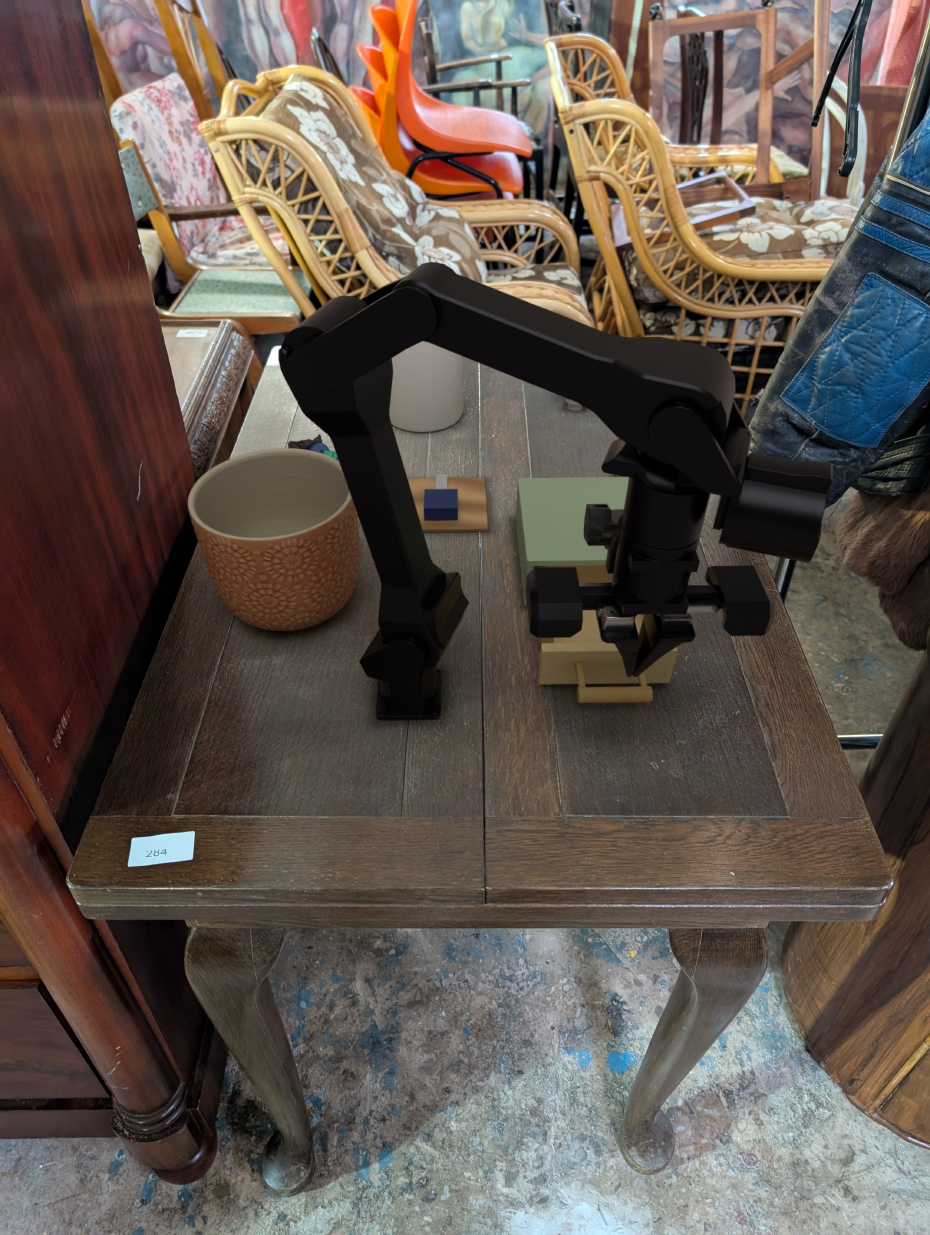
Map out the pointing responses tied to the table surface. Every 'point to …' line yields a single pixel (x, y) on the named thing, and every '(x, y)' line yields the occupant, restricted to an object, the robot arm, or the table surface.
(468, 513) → the mat
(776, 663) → the table surface
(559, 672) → the drawer
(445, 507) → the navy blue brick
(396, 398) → the can
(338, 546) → the planter
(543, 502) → the cabinet
